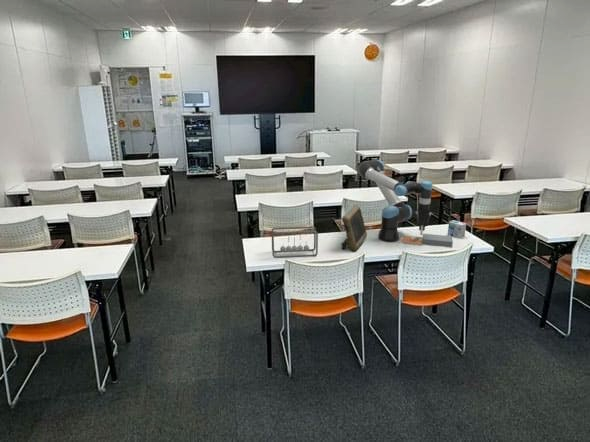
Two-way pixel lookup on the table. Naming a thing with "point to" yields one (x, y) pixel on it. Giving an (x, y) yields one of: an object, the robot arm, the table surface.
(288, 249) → the newton's cradle
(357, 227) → the tablet
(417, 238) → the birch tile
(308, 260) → the table surface
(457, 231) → the light bulb box
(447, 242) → the deck
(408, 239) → the mat
